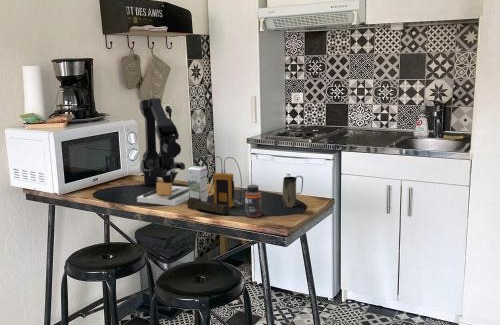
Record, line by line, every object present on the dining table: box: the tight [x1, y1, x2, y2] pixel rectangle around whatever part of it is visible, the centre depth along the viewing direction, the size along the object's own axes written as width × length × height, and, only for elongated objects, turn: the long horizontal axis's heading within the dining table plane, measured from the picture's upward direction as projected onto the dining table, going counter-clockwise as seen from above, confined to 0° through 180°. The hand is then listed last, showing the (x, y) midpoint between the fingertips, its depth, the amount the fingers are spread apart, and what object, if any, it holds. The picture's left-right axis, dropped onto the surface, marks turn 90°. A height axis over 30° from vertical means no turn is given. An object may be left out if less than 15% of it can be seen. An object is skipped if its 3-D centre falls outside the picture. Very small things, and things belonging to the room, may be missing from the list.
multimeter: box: [206, 155, 245, 209], centre depth 200 cm, size 15×10×20 cm
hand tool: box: [186, 197, 230, 216], centre depth 193 cm, size 19×4×5 cm, turn 54°
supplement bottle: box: [244, 184, 263, 218], centre depth 185 cm, size 6×6×11 cm
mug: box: [282, 175, 304, 208], centre depth 198 cm, size 8×6×12 cm
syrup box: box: [187, 165, 209, 202], centre depth 204 cm, size 6×6×14 cm
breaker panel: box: [136, 185, 189, 207], centre depth 213 cm, size 22×18×3 cm
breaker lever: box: [155, 181, 173, 196], centre depth 209 cm, size 2×6×5 cm, turn 67°
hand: (168, 189), depth 212 cm, fingers closed
